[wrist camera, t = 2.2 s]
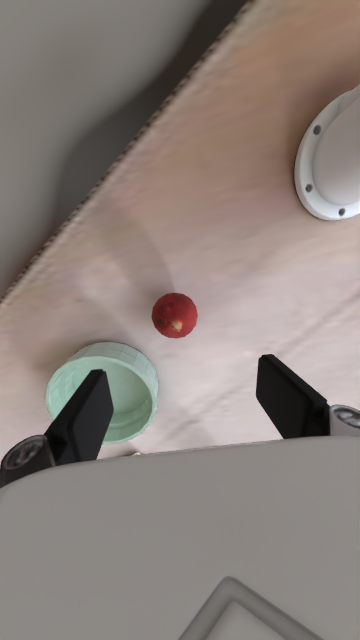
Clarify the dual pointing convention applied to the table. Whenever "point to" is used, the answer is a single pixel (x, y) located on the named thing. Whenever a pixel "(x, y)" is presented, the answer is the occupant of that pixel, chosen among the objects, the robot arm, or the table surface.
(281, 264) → the table surface
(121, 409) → the bowl
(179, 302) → the onion
